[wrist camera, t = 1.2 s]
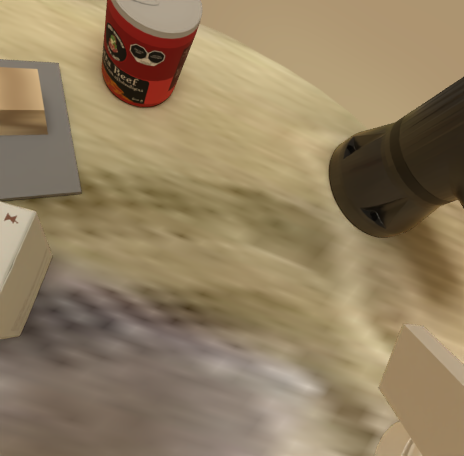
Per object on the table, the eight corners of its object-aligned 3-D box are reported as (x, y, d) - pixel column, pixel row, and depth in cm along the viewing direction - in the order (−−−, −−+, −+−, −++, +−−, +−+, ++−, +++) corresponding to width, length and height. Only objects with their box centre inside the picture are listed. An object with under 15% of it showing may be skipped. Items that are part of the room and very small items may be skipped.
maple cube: (41, 97, 33) (37, 69, 30) (48, 134, 32) (44, 110, 29) (-8, 96, 31) (-19, 66, 28) (-3, 135, 31) (-13, 109, 27)
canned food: (86, 60, 37) (89, -37, 27) (149, 42, 41) (171, -48, 31) (127, 119, 37) (144, 43, 27) (185, 96, 41) (219, 21, 31)
